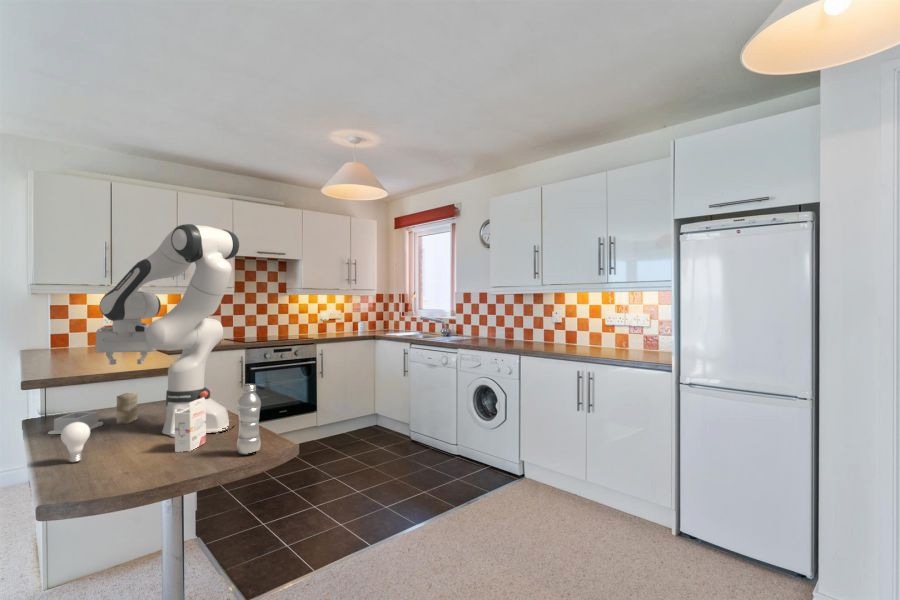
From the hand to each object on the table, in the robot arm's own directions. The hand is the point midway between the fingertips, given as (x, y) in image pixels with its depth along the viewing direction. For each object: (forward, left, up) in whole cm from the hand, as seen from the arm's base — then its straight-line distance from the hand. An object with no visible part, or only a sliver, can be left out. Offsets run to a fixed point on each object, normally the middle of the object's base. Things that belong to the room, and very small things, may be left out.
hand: (126, 364), depth 170 cm
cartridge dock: (+11, +10, -21) cm, 26 cm away
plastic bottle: (-56, +46, -22) cm, 76 cm away
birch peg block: (0, 0, -21) cm, 21 cm away
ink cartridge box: (-37, +38, -22) cm, 57 cm away
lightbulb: (-11, +47, -22) cm, 52 cm away
